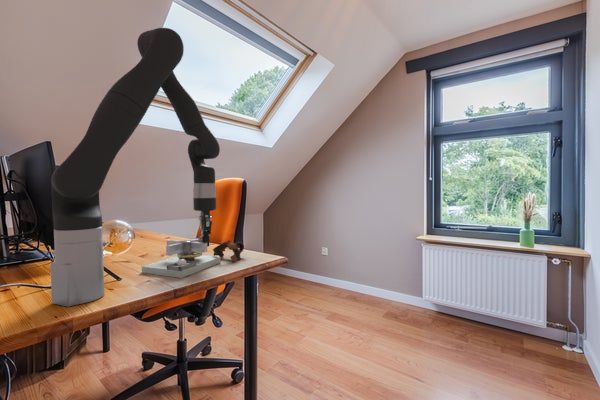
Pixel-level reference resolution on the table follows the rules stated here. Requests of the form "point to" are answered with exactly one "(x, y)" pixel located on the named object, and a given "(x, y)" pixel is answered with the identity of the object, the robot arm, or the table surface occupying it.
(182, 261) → the ball
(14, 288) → the table surface
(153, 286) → the table surface
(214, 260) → the stand
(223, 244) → the gnarled brown arch
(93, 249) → the robot arm
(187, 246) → the capstan
